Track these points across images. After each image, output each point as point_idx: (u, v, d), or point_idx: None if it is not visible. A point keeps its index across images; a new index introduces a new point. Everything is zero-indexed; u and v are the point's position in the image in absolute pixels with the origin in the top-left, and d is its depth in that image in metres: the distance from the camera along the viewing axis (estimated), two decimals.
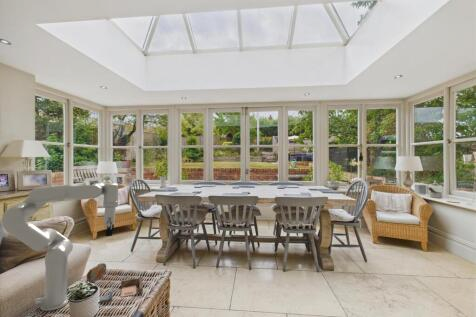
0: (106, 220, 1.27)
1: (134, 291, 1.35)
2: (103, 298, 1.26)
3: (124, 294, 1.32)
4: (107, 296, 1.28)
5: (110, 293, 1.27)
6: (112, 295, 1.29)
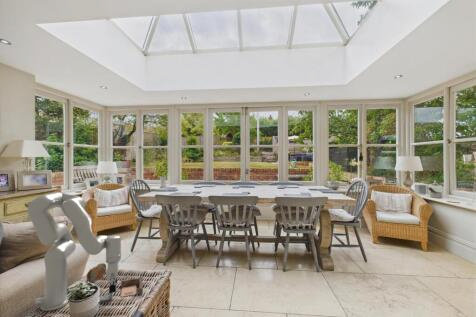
0: (109, 276, 1.24)
1: (134, 291, 1.35)
2: (103, 298, 1.26)
3: (124, 294, 1.32)
4: (107, 296, 1.28)
5: (110, 293, 1.27)
6: (112, 295, 1.29)
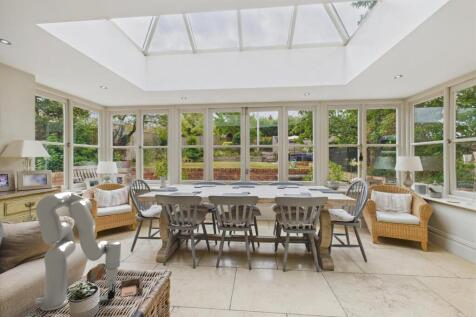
0: (108, 285, 1.24)
1: (134, 291, 1.35)
2: (103, 298, 1.26)
3: (124, 294, 1.32)
4: (107, 296, 1.28)
5: None
6: None
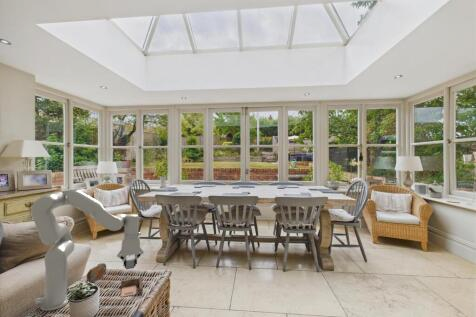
0: None
1: (134, 291, 1.35)
2: None
3: (124, 294, 1.32)
4: None
5: (126, 261, 1.33)
6: (130, 266, 1.33)
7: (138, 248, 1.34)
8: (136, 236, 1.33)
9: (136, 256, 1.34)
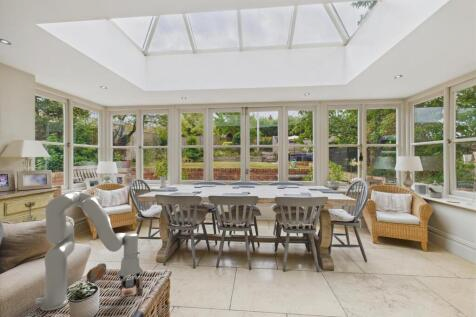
0: None
1: (134, 291, 1.35)
2: None
3: (124, 294, 1.32)
4: None
5: None
6: (130, 285, 1.33)
7: (137, 267, 1.33)
8: (135, 255, 1.33)
9: (135, 275, 1.34)
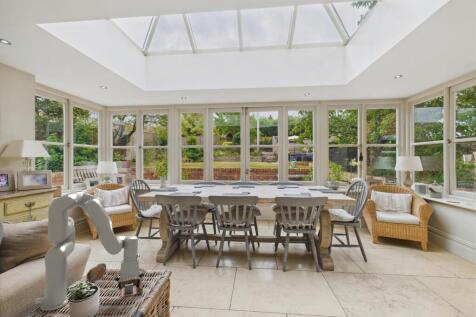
0: None
1: (134, 291, 1.35)
2: None
3: None
4: None
5: None
6: (129, 291, 1.33)
7: (137, 270, 1.33)
8: (135, 259, 1.33)
9: (138, 276, 1.34)
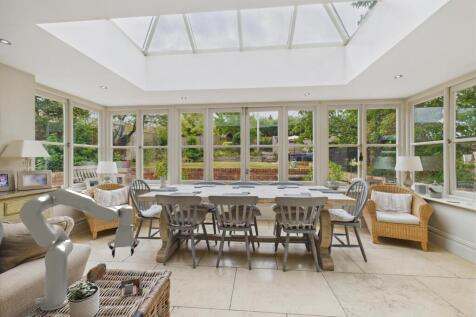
0: None
1: (134, 291, 1.35)
2: None
3: None
4: None
5: None
6: (129, 291, 1.33)
7: (131, 240, 1.35)
8: (130, 228, 1.34)
9: (132, 246, 1.36)
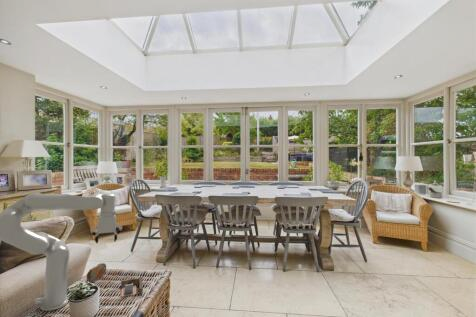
0: None
1: (134, 291, 1.35)
2: None
3: None
4: None
5: None
6: (129, 291, 1.33)
7: (114, 226, 1.39)
8: (112, 214, 1.38)
9: (115, 232, 1.40)
